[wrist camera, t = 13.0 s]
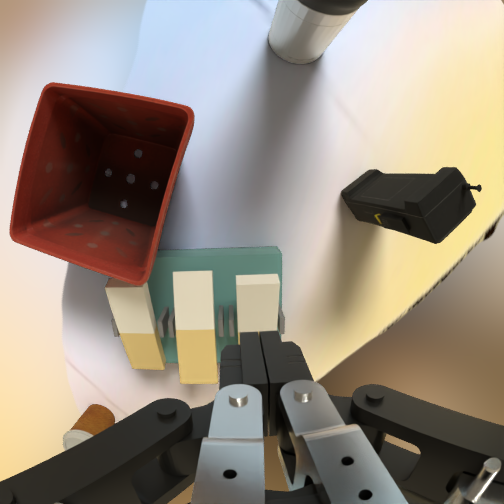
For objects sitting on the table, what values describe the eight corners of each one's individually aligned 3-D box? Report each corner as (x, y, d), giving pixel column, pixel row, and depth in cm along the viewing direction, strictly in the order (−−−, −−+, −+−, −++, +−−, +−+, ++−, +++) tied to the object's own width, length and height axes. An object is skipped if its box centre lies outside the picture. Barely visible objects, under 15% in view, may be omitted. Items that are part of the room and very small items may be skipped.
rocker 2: (175, 271, 42) (172, 271, 40) (212, 270, 42) (211, 270, 40) (182, 378, 41) (180, 383, 39) (218, 378, 42) (217, 383, 40)
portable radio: (354, 227, 50) (449, 267, 25) (333, 196, 48) (423, 213, 24) (389, 198, 49) (496, 218, 25) (370, 168, 48) (474, 165, 23)
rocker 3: (235, 275, 38) (236, 285, 37) (277, 273, 39) (279, 283, 37) (239, 358, 46) (239, 368, 44) (272, 357, 46) (274, 367, 44)
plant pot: (97, 107, 43) (44, 80, 26) (208, 132, 45) (197, 107, 29) (67, 220, 46) (7, 239, 30) (172, 253, 49) (146, 289, 32)
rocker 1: (109, 278, 37) (104, 287, 36) (146, 277, 38) (142, 287, 36) (134, 359, 45) (132, 368, 43) (166, 359, 45) (164, 369, 43)
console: (124, 251, 48) (100, 268, 38) (276, 246, 49) (288, 262, 39) (138, 349, 52) (122, 381, 42) (276, 346, 53) (285, 380, 43)
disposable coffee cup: (88, 390, 53) (67, 427, 42) (129, 415, 55) (114, 455, 43) (75, 414, 55) (56, 450, 43) (113, 437, 56) (98, 475, 45)
